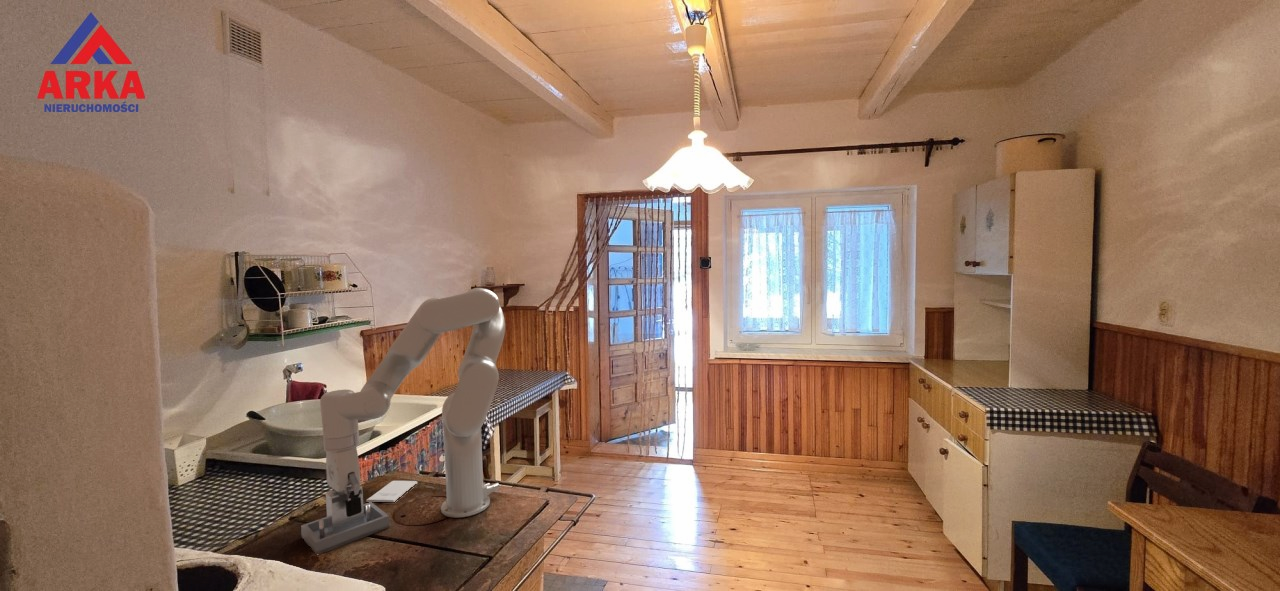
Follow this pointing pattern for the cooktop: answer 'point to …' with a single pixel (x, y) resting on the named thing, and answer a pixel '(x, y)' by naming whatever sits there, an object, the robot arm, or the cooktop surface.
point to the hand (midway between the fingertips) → (347, 508)
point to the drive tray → (323, 541)
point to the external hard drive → (392, 491)
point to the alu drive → (341, 512)
